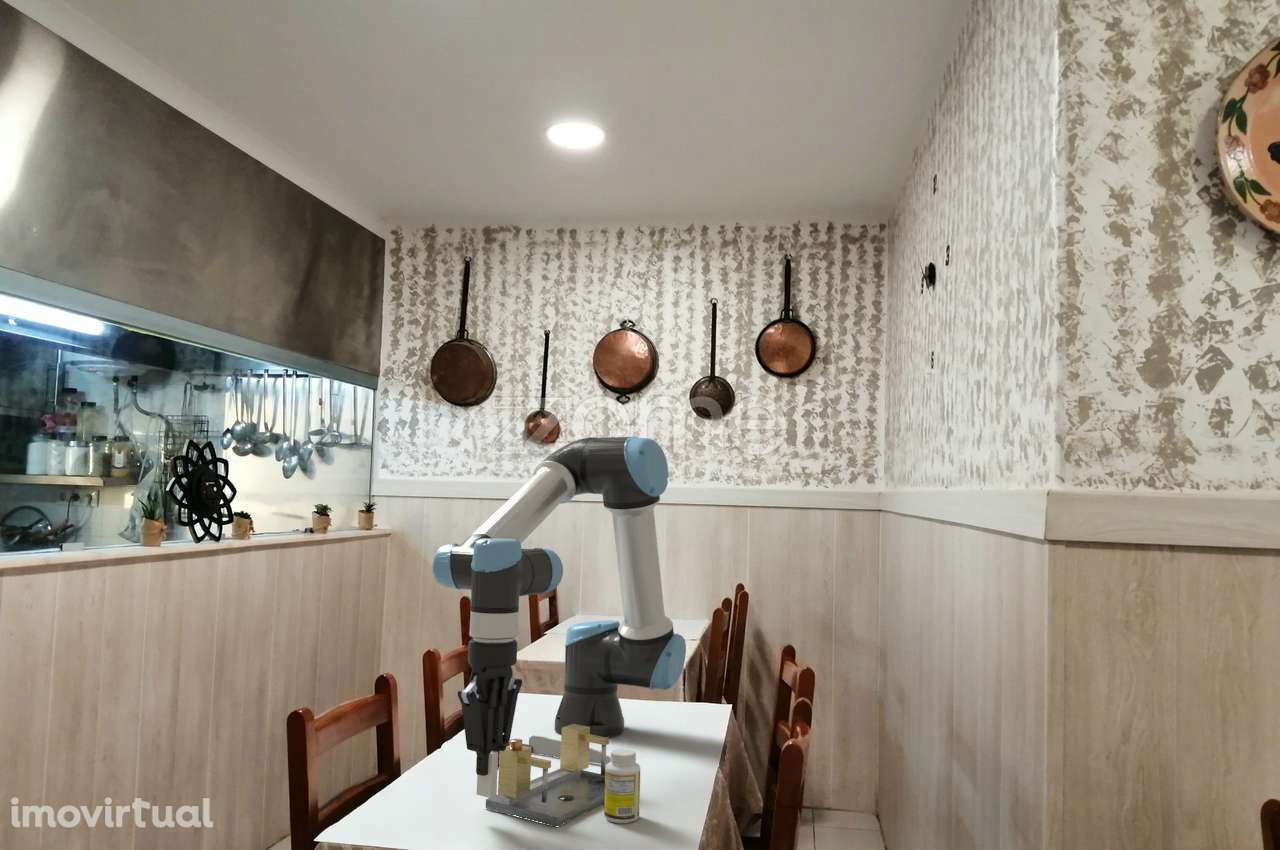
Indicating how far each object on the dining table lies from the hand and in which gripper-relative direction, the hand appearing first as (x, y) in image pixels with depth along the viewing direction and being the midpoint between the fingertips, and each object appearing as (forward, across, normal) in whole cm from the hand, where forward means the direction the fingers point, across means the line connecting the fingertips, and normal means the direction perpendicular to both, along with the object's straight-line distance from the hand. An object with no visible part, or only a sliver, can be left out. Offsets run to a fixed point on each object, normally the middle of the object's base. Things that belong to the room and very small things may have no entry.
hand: (486, 794), depth 136 cm
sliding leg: (+2, -7, +2) cm, 7 cm away
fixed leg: (+2, -24, +2) cm, 24 cm away
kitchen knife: (+5, -35, -12) cm, 37 cm away
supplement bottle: (+4, -14, +16) cm, 22 cm away
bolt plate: (+4, -16, +3) cm, 17 cm away
